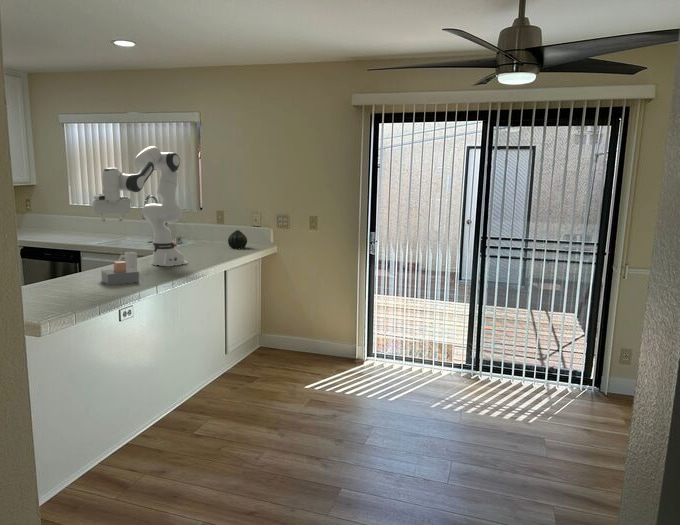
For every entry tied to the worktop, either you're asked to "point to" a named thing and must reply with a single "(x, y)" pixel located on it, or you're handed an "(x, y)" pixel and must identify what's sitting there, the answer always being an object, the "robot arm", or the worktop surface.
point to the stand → (120, 276)
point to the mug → (130, 259)
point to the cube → (120, 266)
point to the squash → (237, 240)
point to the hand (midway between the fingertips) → (112, 221)
